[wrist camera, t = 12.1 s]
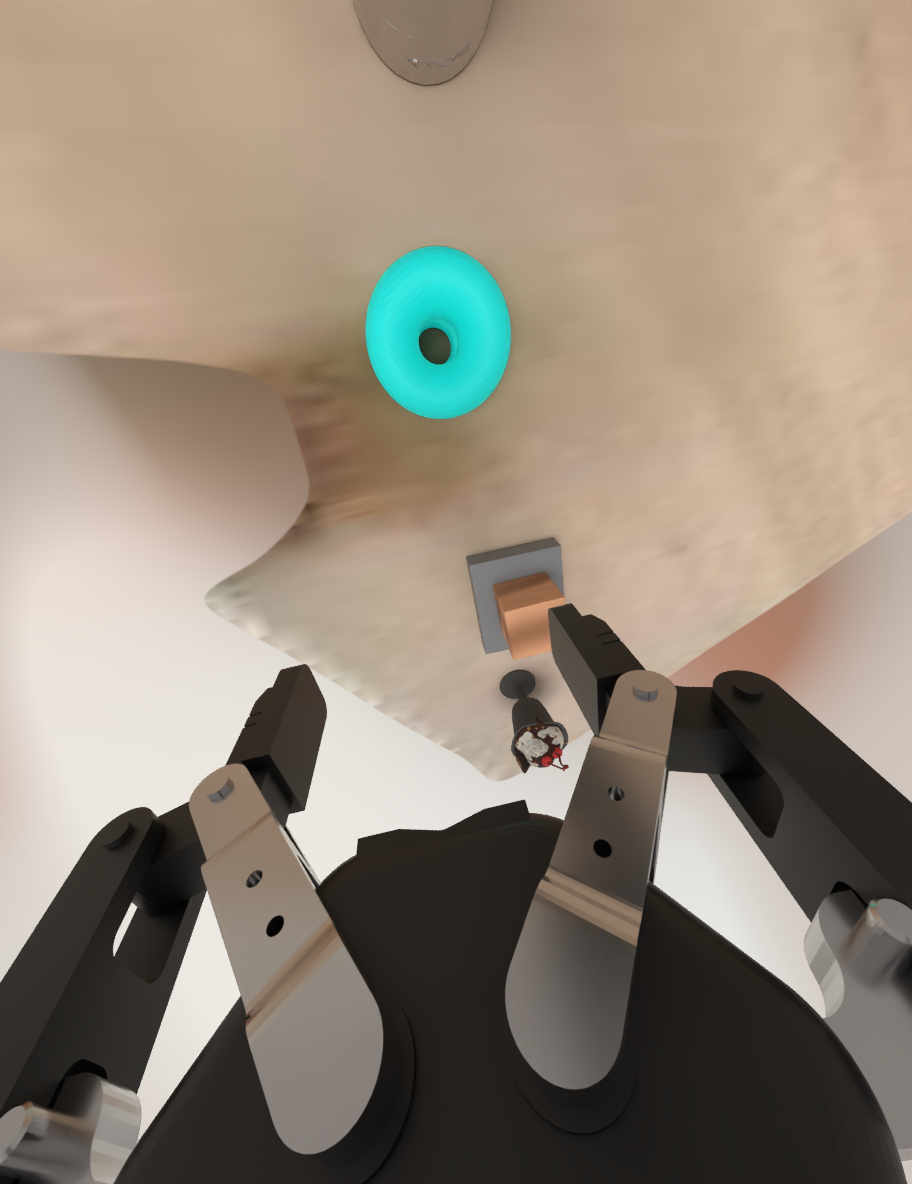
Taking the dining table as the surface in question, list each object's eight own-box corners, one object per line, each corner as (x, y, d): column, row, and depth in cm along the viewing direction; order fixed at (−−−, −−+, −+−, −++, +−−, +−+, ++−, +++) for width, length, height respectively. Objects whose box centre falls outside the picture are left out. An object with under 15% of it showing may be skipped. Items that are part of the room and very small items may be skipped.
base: (465, 555, 45) (469, 565, 42) (551, 536, 45) (560, 545, 42) (481, 640, 50) (485, 654, 48) (557, 623, 51) (566, 636, 48)
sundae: (543, 662, 53) (590, 755, 39) (538, 700, 56) (579, 798, 42) (495, 665, 52) (525, 761, 39) (492, 704, 55) (519, 804, 42)
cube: (492, 584, 43) (504, 612, 38) (545, 571, 43) (564, 596, 38) (501, 628, 46) (513, 660, 41) (550, 616, 46) (569, 646, 41)
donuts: (542, 357, 27) (428, 449, 29) (508, 365, 36) (422, 435, 38) (458, 195, 23) (330, 315, 25) (443, 249, 32) (349, 334, 34)
